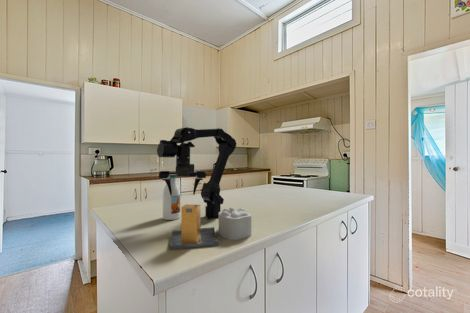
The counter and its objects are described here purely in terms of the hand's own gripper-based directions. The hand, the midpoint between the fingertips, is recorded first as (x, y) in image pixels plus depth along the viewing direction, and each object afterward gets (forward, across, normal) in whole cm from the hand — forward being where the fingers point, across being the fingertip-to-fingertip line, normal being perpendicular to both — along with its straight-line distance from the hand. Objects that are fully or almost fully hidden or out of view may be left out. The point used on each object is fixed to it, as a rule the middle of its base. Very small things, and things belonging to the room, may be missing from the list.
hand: (182, 195), depth 92 cm
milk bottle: (+12, -5, +11) cm, 17 cm away
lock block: (+11, +3, -22) cm, 25 cm away
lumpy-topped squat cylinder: (+12, +18, -15) cm, 27 cm away
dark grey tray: (+12, +4, -20) cm, 23 cm away
